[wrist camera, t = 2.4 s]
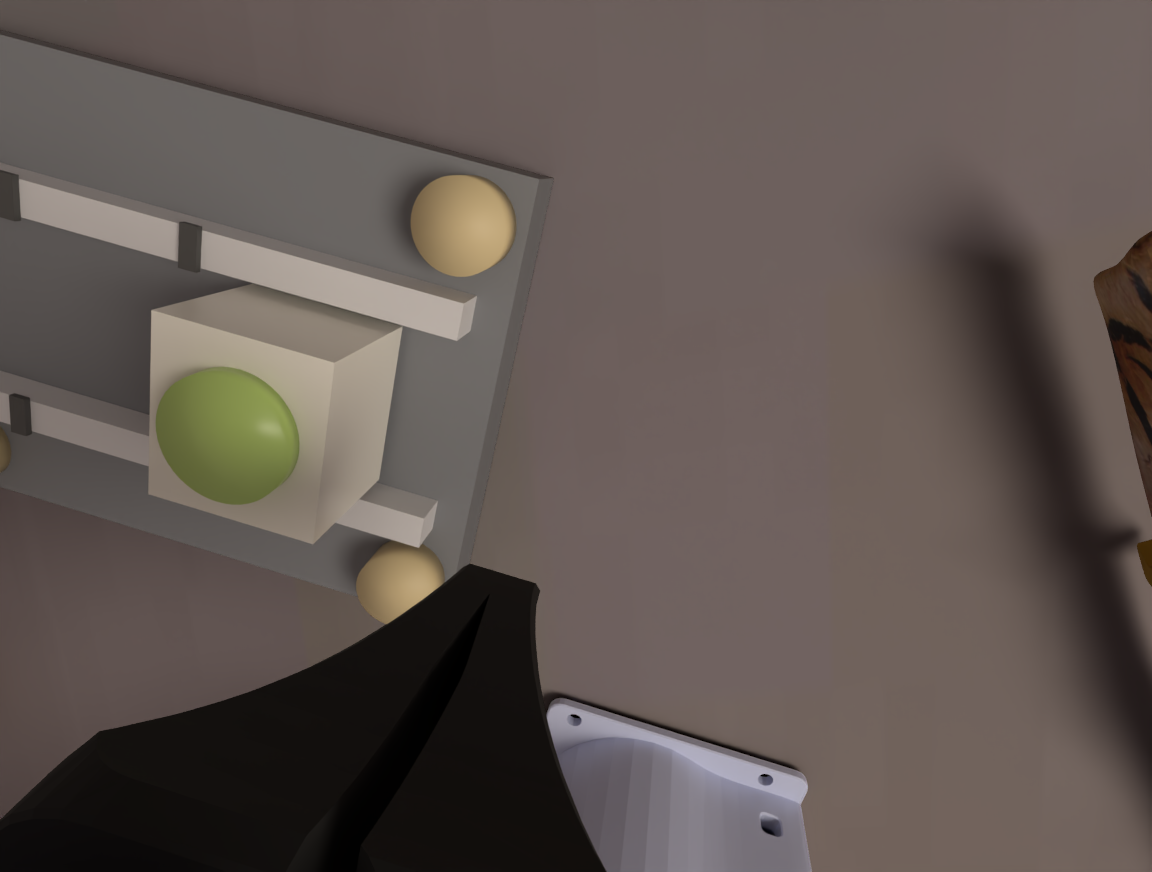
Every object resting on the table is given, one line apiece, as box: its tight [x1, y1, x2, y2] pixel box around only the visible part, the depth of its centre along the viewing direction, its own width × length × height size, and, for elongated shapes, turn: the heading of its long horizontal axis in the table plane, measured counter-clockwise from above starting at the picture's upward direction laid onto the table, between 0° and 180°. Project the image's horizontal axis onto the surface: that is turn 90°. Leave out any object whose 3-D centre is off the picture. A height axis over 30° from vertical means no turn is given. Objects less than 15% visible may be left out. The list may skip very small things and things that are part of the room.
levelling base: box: [0, 30, 554, 624], centre depth 21 cm, size 18×14×3 cm
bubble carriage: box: [148, 284, 403, 544], centre depth 19 cm, size 4×5×5 cm
